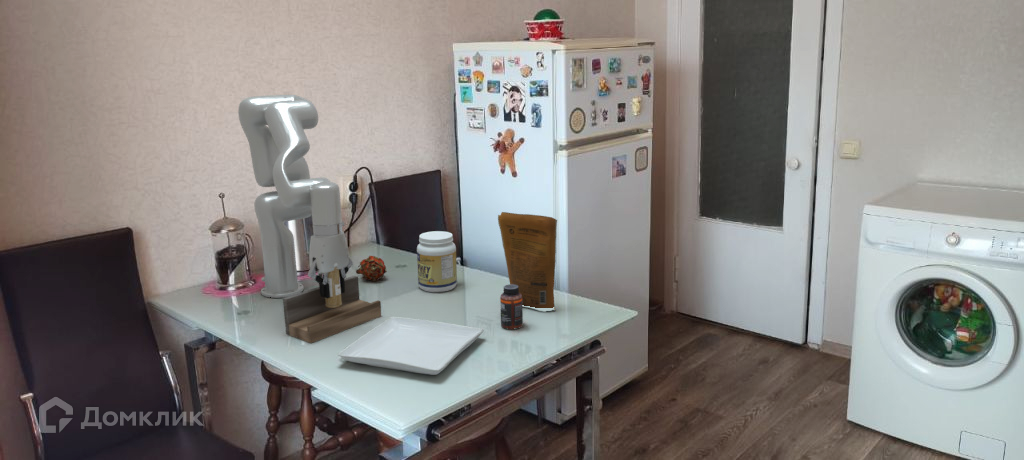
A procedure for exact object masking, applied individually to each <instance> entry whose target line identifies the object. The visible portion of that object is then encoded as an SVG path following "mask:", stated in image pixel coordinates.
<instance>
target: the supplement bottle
mask: <svg viewBox="0 0 1024 460" xmlns="http://www.w3.org/2000/svg"><path fill="white" fill-rule="evenodd" d="M518 291H519V290H518V286H517V285H514V284H510V283H508V284H505V285H504V286H503V292H502V293H501V294H500V297H499V301H500V304H499V305H500V326H501V327H502V328H503V329H505V328H508V329H507V330H515V329H514V328H518V329H520V328H522V326H523V324H524V321H523V320H524V319H523V318H524V317H523V315H524V314H523V307H522V295H521V294H520V293H519V292H518ZM519 327H520V328H519Z"/></svg>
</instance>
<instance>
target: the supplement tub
mask: <svg viewBox="0 0 1024 460" xmlns="http://www.w3.org/2000/svg"><path fill="white" fill-rule="evenodd" d="M453 236H454V235H453V233H451V232H449V231H441V230H435V231H427V232H422V233H421V234H419V239H418V241H419V244H417V247H416V257H417V259H416V261H417V283H418V287H419V288H420V290H423V291H425V292H428V293H429V292H430V293H443V292H444V293H445V292H448V291H451V290H454V289H455V287H456V286H457V284H458V279H457V278H458V277H457V276H458V275H457V274H458V272H457V270H458V269H457V247H456V244H455V243H454V242H453V241H454V237H453Z"/></svg>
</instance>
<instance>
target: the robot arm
mask: <svg viewBox="0 0 1024 460" xmlns="http://www.w3.org/2000/svg"><path fill="white" fill-rule="evenodd" d="M237 110H238V111H237V112H238V119H239V123H240V126H241V129H242V130H243V133H244V135H245V137H246V138H247V142H248V145H249V151H250V156H251V157H250V159H251V164H252V169H253V176H254V179H255V181H256V183H257V185H258V186H259V187H261V188H273V187H275V189H276V190H273V191H267V192H264V193H261V194H260V195H258V196H257V197H256V198H255V201H254V212H255V217H256V219H257V223H258V227H259V232H260V240H261V241H260V242H261V250H262V259H263V260H262V261H263V262H262V263H263V270H264V271H263V272H264V276H262V277H261V279H260V280H261V282H264V286H263V287H262V288H261V290H260V293H261V295H262V296H263V297H265V298H270V297H271V298H272V299H274V298H275V299H278V298H281V299H283V298H285V297H288V296H292V295H295V294H298V293H301V292H304V285H303V284H302V283H300V282H299V281H298V280H299V279H298V271H297V259H296V247H295V246H296V245H295V236H294V234H293V232H292V231H291V229H289V228H288V227H287V226H286V225H285V223H286V222H290V221H298V220H302V219H303V220H304V219H306V218H310V217H311V219H312V232H313V233H312V234H313V235H311V236H310V240H309V241H310V242H309V252H308V253H309V255H308V256H309V257H308V259H309V260H308V261H309V263H308V264H309V270H308V273H307V276H308V277H309V278H312V279H313V280H314V281H316V283H317V284H318V285H319V286H318V287H319V288H320V295H321V297H324V298H329V297H330V292H329V284H327V276H328V273H329V272H331V271H334V269H339V276H340V286H341V293H345V283H344V279H345V278H347V274H348V272H349V270H350V268H351V267H352V266H353V265H354V262H353V261H352V259H351V258H350V254H349V247H348V241H347V238H346V235H345V234H346V233H345V232H344V231H343V227H344V226H345V224H346V223H345V221H344V220H343V219H342V205H341V192H340V187H339V184H338V183H336V182H333V181H331V180H330V179H328V178H327V177H314V178H311V175H310V169H309V168H310V167H309V166H308V161H307V160H306V158H305V156H306V155H307V154H308V153H309V151H310V150H311V149H310V148H311V144H310V141H309V139H308V137H307V135H306V132H305V130H311V129H314V128H316V127H317V125H318V124H319V112H318V110H317V107H316V106H315V104H314V103H313V102H312V101H311V100H309V99H307V98H305V97H302V96H299V95H296V94H275V95H272V94H271V95H257V96H250V97H247V98H244V99H243V100H241V101H240V103H239V104H238V109H237ZM335 263H337V264H338V266H335V267H337V268H334V264H335Z"/></svg>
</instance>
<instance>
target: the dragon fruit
mask: <svg viewBox="0 0 1024 460" xmlns="http://www.w3.org/2000/svg"><path fill="white" fill-rule="evenodd" d="M387 272H388V271H387V267H386V265H385V262H384V260H383V259H382V258H380V257H378V256H375V255H369V256H368V257H367V258H364V259H362V260H361V261H360V262H359V265H358V266H357V269H355V273H356V274H357V275H362V278H363V280H365V281H369V280H370V281H372V282H377V281H378V280H379V279H382V278H383V277H384V276H385V274H386V273H387Z"/></svg>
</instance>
